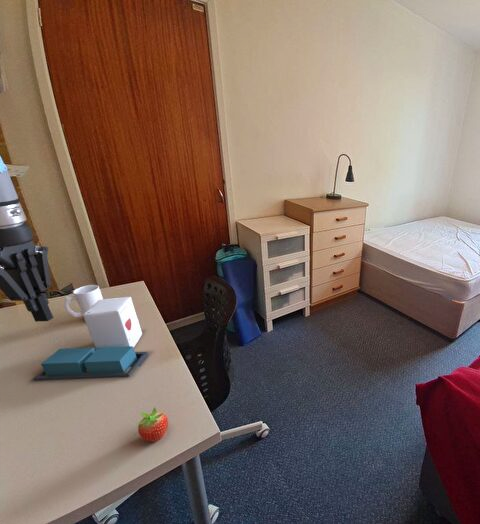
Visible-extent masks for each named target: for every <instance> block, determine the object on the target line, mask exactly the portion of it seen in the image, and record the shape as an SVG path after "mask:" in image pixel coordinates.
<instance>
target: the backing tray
mask: <svg viewBox="0 0 480 524" xmlns="http://www.w3.org/2000/svg"><path fill="white" fill-rule="evenodd" d="M135 354H136V357H137V361H136V362H135V363H134V364H133V365H132V367H130V369H129V370H128V371H127V372H124V373H106V374H89V373H88V374H87V373H84V374H83V375H59V376H47V375H46V373H45V371H44V369H43V370H42V371H40V372H39V373H38V374H37V375H36V376H34V377H33V378H32V380H33V382H38V381H39V382H40V381H62V380H63V381H64V380H65V381H66V380H87V379H108V378H109V379H110V378H129V377H131V376H132V374H133V373H134V372H135V371H136V370H137V368H138V367H141V366H142V365H143V364H144V362H145V361H146V360H147V359H148V358H149V353H148V351H135Z"/></svg>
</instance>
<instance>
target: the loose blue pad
mask: <svg viewBox="0 0 480 524" xmlns="http://www.w3.org/2000/svg"><path fill="white" fill-rule="evenodd" d="M134 348H135V347H134ZM134 348H133V346H125V347H100V348H98V349H97V350H96V349H95V352H94V353H93V354H92V355H91V356H90V357H89V358H88V359H87V360H86V361H85V362H84V364H85V367H86V369H87V371H86V372H87V373H88V374H106V373H126V371H127V370H128V369H129V368H132V365H133V364H134V363H135V362H136V361H137V357H136V354H135V352H136V351H135V349H134Z"/></svg>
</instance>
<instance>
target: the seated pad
mask: <svg viewBox="0 0 480 524" xmlns="http://www.w3.org/2000/svg"><path fill="white" fill-rule="evenodd" d="M95 351H96V348H95V347H72V348H71V347H69V348H59V349H58V350H56V351H55V352H54V353H53V354H51V355H50V356H49V357H48V358H46V359H45V360H44V361H42V362H41V363H40V365H41V367H42V369H43V370H44V371H45V373H46V374H45V376H59V375H83V374H86V372H88V371H87V369H86V367H85V364H84V362H85V361H86V360H87V359H88V358H89V357H90V356H91V355H92V354H93V353H94V352H95Z"/></svg>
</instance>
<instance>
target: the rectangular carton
mask: <svg viewBox="0 0 480 524" xmlns="http://www.w3.org/2000/svg"><path fill="white" fill-rule="evenodd" d="M82 317H83V319H84V322H85V325H86V326H87V329H88V332H89V335H90V338H91V339H92V342H93V344H94V348H95V351H96V350H97V349H98V348H100V347H125V346H133V348H135V346H136V345H137V344H138V342H139V341H140V338H141V337H142V335H143V332H142V329H141V324H140V323H139V322H140V321H139V318H138V315H137V313H136V309H135V305H134V303H133V299H132V297H131V296H124V297H114V298H103V299H100V300H98V301H97V302H96V303H95V304H94V305H93V306H91V307H90V309H89V310H88V311H87V312H85V313H84V314H83V316H82Z"/></svg>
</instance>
